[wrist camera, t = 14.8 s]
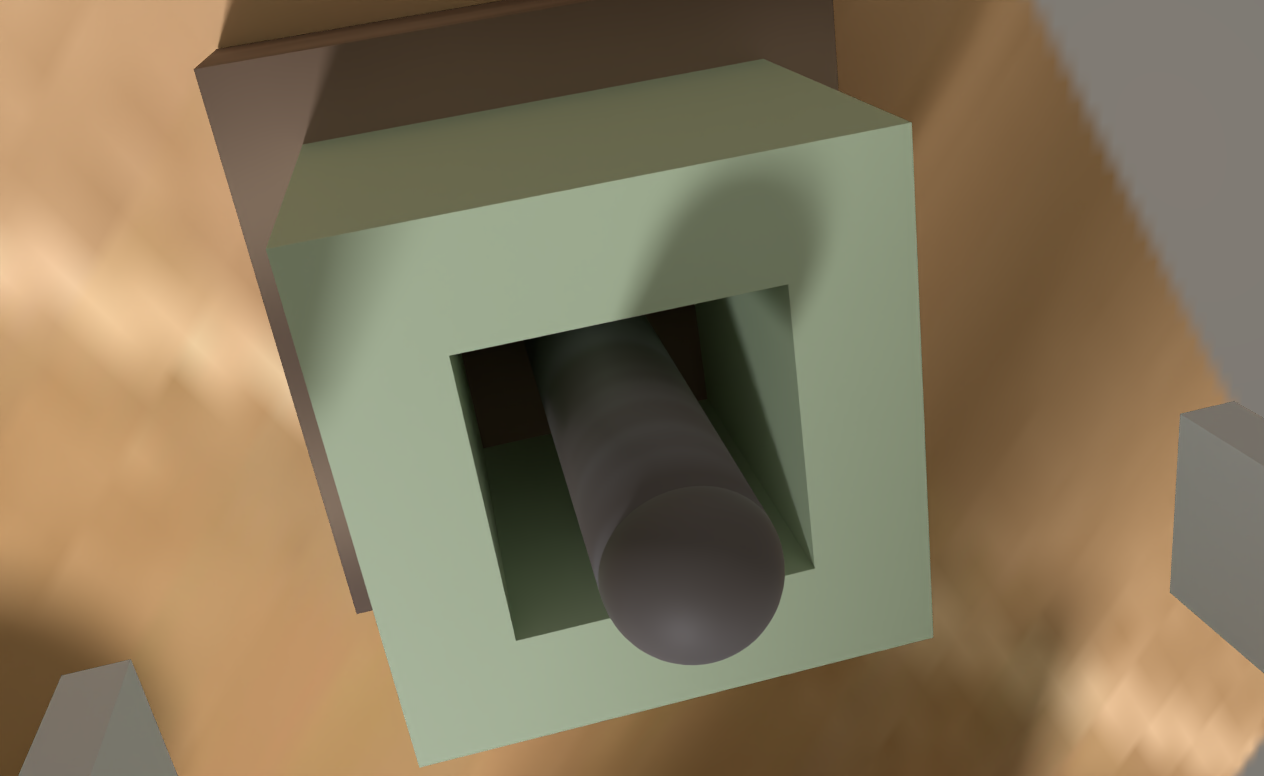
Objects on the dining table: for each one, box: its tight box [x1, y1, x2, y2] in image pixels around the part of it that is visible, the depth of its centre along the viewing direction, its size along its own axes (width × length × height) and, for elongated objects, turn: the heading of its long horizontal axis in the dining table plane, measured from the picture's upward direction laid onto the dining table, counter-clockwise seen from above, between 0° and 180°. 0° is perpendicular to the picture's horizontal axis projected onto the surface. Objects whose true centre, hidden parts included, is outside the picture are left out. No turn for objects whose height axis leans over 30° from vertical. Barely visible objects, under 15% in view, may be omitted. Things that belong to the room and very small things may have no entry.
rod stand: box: [194, 0, 839, 665], centre depth 20 cm, size 12×12×14 cm
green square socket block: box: [266, 59, 933, 767], centre depth 20 cm, size 9×9×7 cm
